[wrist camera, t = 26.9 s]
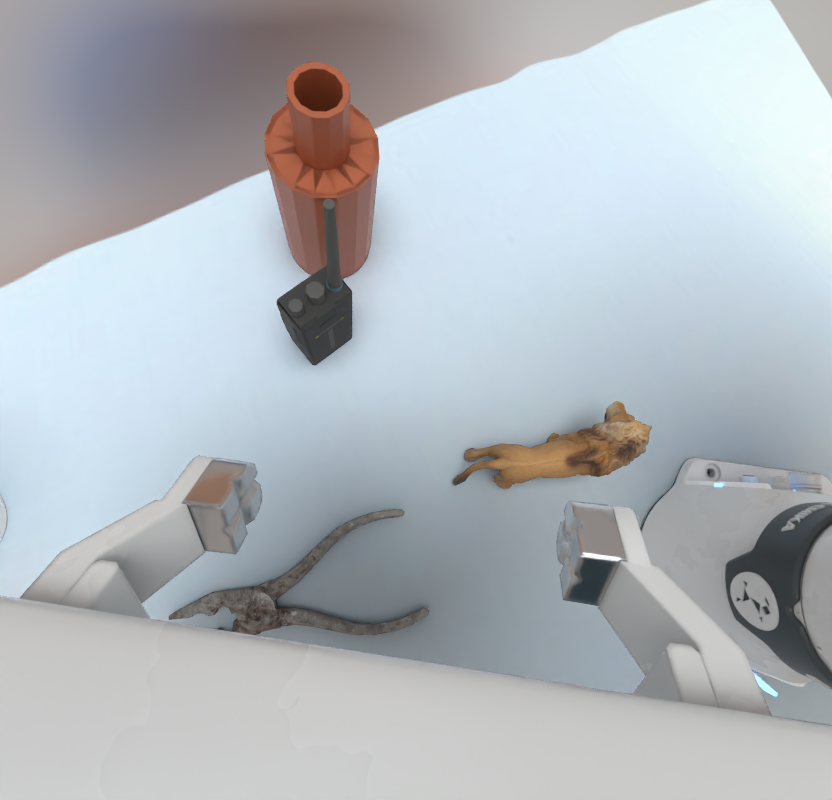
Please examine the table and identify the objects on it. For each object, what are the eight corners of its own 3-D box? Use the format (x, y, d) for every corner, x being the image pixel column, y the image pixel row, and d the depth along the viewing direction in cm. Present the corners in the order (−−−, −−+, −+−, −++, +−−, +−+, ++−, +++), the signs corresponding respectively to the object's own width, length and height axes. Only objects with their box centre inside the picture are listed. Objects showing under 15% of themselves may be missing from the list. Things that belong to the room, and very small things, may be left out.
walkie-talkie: (331, 307, 42) (316, 162, 22) (354, 336, 42) (361, 216, 22) (287, 338, 41) (232, 215, 21) (311, 368, 41) (278, 272, 21)
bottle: (367, 206, 44) (379, 36, 27) (371, 279, 43) (388, 151, 26) (288, 205, 43) (248, 27, 25) (291, 280, 42) (251, 147, 24)
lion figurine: (587, 408, 44) (647, 392, 35) (607, 462, 43) (673, 459, 35) (442, 456, 41) (468, 452, 32) (461, 514, 41) (493, 526, 32)
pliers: (448, 604, 38) (212, 740, 34) (446, 601, 39) (215, 734, 35) (397, 497, 39) (160, 618, 35) (396, 497, 40) (164, 615, 36)
